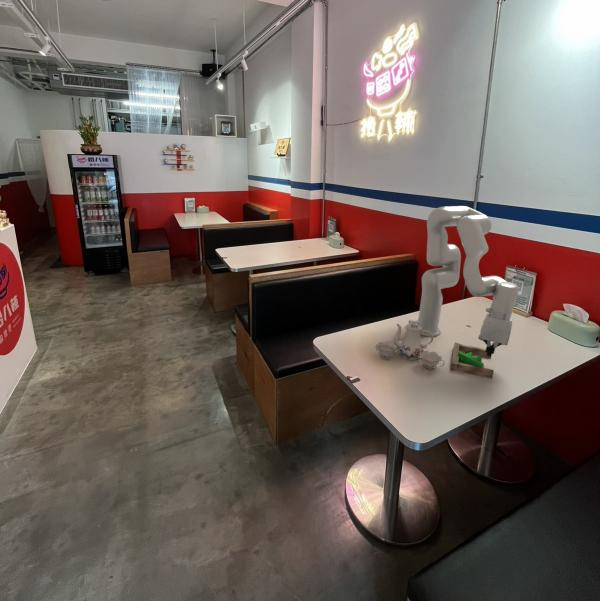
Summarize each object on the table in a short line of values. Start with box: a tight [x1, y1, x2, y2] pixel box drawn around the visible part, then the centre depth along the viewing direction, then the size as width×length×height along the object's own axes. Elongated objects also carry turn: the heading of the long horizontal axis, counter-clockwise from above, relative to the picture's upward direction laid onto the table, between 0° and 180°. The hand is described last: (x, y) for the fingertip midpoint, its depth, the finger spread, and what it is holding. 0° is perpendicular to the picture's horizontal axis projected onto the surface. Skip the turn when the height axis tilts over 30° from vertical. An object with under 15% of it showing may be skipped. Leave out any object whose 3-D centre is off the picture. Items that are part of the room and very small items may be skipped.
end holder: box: [450, 342, 495, 379], centre depth 152 cm, size 15×20×3 cm
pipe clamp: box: [458, 351, 485, 368], centre depth 149 cm, size 11×4×5 cm, turn 28°
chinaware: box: [375, 320, 445, 370], centre depth 152 cm, size 28×17×17 cm, turn 70°
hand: (488, 354), depth 149 cm, fingers closed
